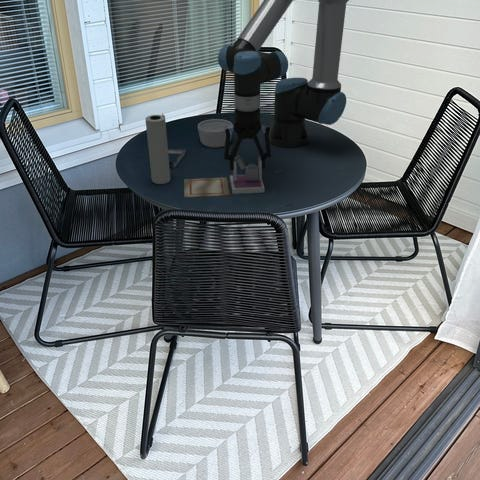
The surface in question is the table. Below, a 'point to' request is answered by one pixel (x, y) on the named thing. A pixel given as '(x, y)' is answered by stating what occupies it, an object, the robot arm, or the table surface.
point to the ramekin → (213, 132)
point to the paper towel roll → (158, 148)
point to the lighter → (249, 170)
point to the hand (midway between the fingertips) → (247, 178)
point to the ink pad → (246, 185)
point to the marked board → (206, 187)
